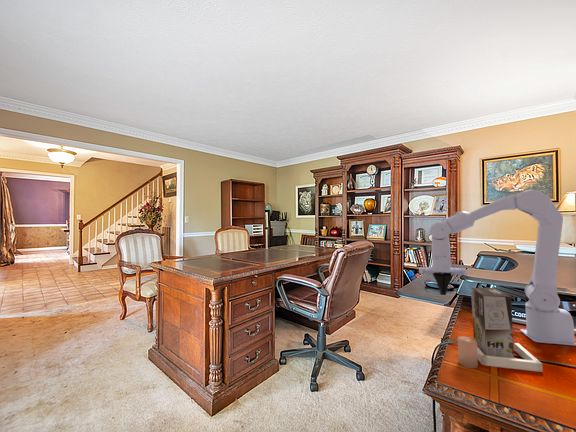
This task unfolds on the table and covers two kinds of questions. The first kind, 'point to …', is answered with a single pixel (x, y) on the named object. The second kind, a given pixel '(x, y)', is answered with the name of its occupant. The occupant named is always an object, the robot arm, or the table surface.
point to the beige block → (467, 352)
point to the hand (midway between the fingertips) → (442, 294)
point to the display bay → (512, 360)
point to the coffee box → (492, 322)
